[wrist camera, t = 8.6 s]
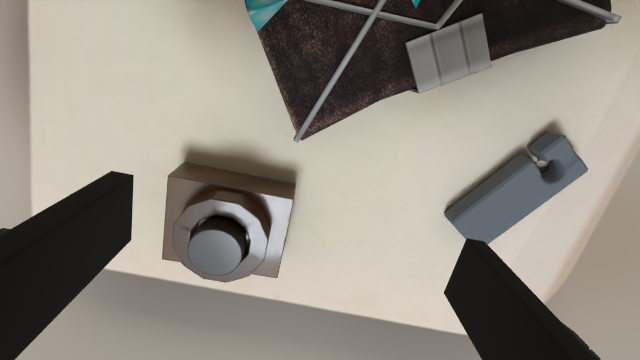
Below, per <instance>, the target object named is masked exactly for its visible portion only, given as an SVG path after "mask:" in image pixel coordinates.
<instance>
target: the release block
mask: <svg viewBox="0 0 640 360" xmlns="http://www.w3.org/2000/svg"><path fill="white" fill-rule="evenodd" d="M294 194H295V184H292V183H287V182H282V181H277V180H272V179H267V178H261V177H256V176H251V175H246V174H241V173H236V172H230V171H225V170H220V169H215V168H210V167H205V166H200V165H194V164H189V163H183V164H182V165H180V166H179V167H178V168H177V169H175V170H174V171H173V172H172V173H171V174H169V175H168V182H167V196H166V211H165V225H164V239H163V253H162V259H164V260H170V261H176V262H181V263H182V264H183V265H184V266H185V267H187V268H188V269H190V270H191V271H193V272H194V273H196V274H197V275H199V276H200V277H202V278H203V279H209V280H215V281H221V282H230V281H233V280H237V279H240V278H244V277H247V276H249V275H250V274H255V275H261V276H267V277H273V278H277V277H278V273H279V268H280V263H281V258H282V254H283V249H284V244H285V239H286V235H287V230H288V225H289V220H290V216H291V211H292V206H293V201H294ZM212 218H226V219H230V220H232V221H234V222H235V223H237V224H238V225H239V226H240V227H241V228H242V229H243V231H244V233H245V235H246V239H247V244H246V248H245V251H244V254H243V257H242V260H241V263H240V264H239V266H238V267H237V268H236V269H235V270H234V271H232V272H231V273H229V274H226V275H221V276H213V275H208V274H205V273H203V272H201V271H199V270H198V269H197V268H196V267H194V265H193V264H192V263H191V261H190V259H189V257H188V252H187V248H188V244H189V241H190V239H191V238H192V236H193V235H194V233H195V232H196V230H197V229H198V227H199V226H200V225H201V224H202V223H203V222H205V221H206V220H209V219H212Z"/></svg>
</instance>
